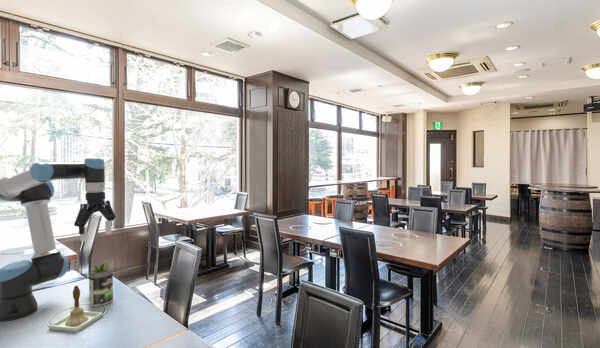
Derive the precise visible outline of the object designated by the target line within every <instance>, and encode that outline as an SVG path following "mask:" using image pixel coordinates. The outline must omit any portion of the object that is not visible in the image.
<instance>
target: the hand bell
mask: <svg viewBox="0 0 600 348" xmlns="http://www.w3.org/2000/svg"><path fill="white" fill-rule="evenodd" d="M80 296H81V291H80V288H79V285H74V287H73V290H72V298H73V301H74V305H73V306H74V308H72V309H71V310H70V314H69V315H70V317H69V319H68V320H67V321H66V323H65V325H66V326H77V325H80V324H83V323H85V322H86V321H87V320H88V317H87V316H86V315H85V314H84V311H85V310H84V307H80Z"/></svg>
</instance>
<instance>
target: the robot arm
mask: <svg viewBox="0 0 600 348" xmlns="http://www.w3.org/2000/svg"><path fill="white" fill-rule="evenodd" d="M105 168H106V166H105V160H104V159H103V158H102V157H86V158H85V159H84V162H78V161H77V162H45V161H42V162H35V163H32V164H31V166H30V168H29V169H28V170H26V171H23V172H21V173H17V174H16V175H13V176H5V177H3V178H0V200H2V201H5V202H19V203H20V205H21V206H22V207H24V208H25V211H26V216H27V222H28V227H29V232H30V238H31V244H32V249H33V253H34V254H33V255H32V256H31V258H30V260H29V259H24V260H20V261H14V262H10V263H8V264H6V265H4V266H1V268H0V322H8V321H13V320H16V319H21V318H23V317H27V316H29V315H31V314H33V313H34V312H36V311H37V310H38V309H39V308H38V305H39V304H38V302H37V300H36V297H35V296H34V294H33V287H35V286H38V285H41V284H44V283H47V282H48V283H49V282H50V281H55V280H56V279H59V278H62V277H63V276H64V275H66V273H67V271H68V269H69V259H68V258H67V256H66V255H65V254H62V253H61V251H60V250H58V249H57V248H56V242H55V237H54V232H53V231H54V230H53V227H52V222H51V216H50V210H49V205H48V204H49V203H50V202H51V198H53V197H54V194H55V193H54V192H55V187H54V185H53V183H52V181H54V180H75V179H78V180H79V179H84V188H85V189H84V190H85V201H86V203H80V205H79V206H80V207H79V211H78V213H77V215H76V217H75V218H76V219H75V221H74V224H73V226H74V227H78V234H79V237H80V238H79V240H80V242H88V231H87V230H88V229H87V228H88V226H86V225H87V223H88V222H89V219H90V218H91V216H92V215H93V214H95V213H97V212H100V214H101V215H102V216H103V217H104V219H105V221H104V223H105V224H104V225H105V227H104V230H105V233H104V234H105V235H112V227H113V221H114V220H115V219H116V213H115V212H114V210H113V208H112V206H111V201H110V200H108V199H107V200H106V192H105V190H106V188H105V187H106V184H105V183H106V176H105V175H106V174H105V173H106V171H105Z"/></svg>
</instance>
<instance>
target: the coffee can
mask: <svg viewBox="0 0 600 348" xmlns="http://www.w3.org/2000/svg"><path fill="white" fill-rule="evenodd" d="M111 271H112V270H106V271H102V272H97V273H95V272H94V273H93V274H91V275H88V277H89V279H88V285H89V287H88V291H89V306H91V307H100V306H105V305H107V304H110V303H112V302H113V301H114V284H113V283H114V282H113V281H114V278H113V277H114V276H113V274H114V271H112V272H111Z"/></svg>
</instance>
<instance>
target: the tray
mask: <svg viewBox="0 0 600 348" xmlns="http://www.w3.org/2000/svg"><path fill="white" fill-rule="evenodd" d="M83 311H84V314H85V315H86V316H87V317H88V320H87V321H86V322H85V323H83V324H80V325H77V326H66V325H65V323H66V321H67V320H68V319H69V317H70V314H68V315H66V316H65V317H64V316H63V318H60V319H59V320H57V321H55V322H53V323H52V324H51V323H50V324H49V325H48V330H49V331H57V332H69V333H75V334H76V333H79V332H81V331H82V330H83V329H85V328H87V327H88V326H90V325H91V324H93V323H95V322H96V321H98V320H99V319H101V318H103V317H104V312H102V311H101V312H99V311H91V310H89V311H88V310H83Z"/></svg>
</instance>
